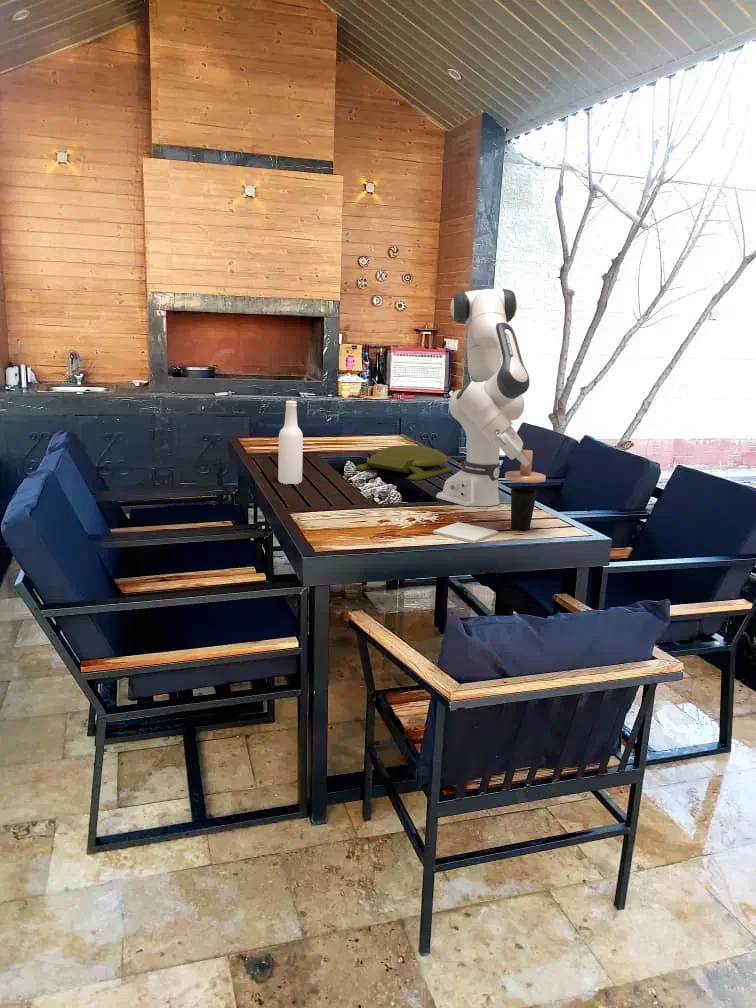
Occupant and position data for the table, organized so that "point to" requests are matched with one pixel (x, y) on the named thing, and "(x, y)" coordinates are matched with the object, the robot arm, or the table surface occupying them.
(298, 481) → the alcohol
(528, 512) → the cup
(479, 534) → the mat
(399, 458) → the green turtle
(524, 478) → the lid
